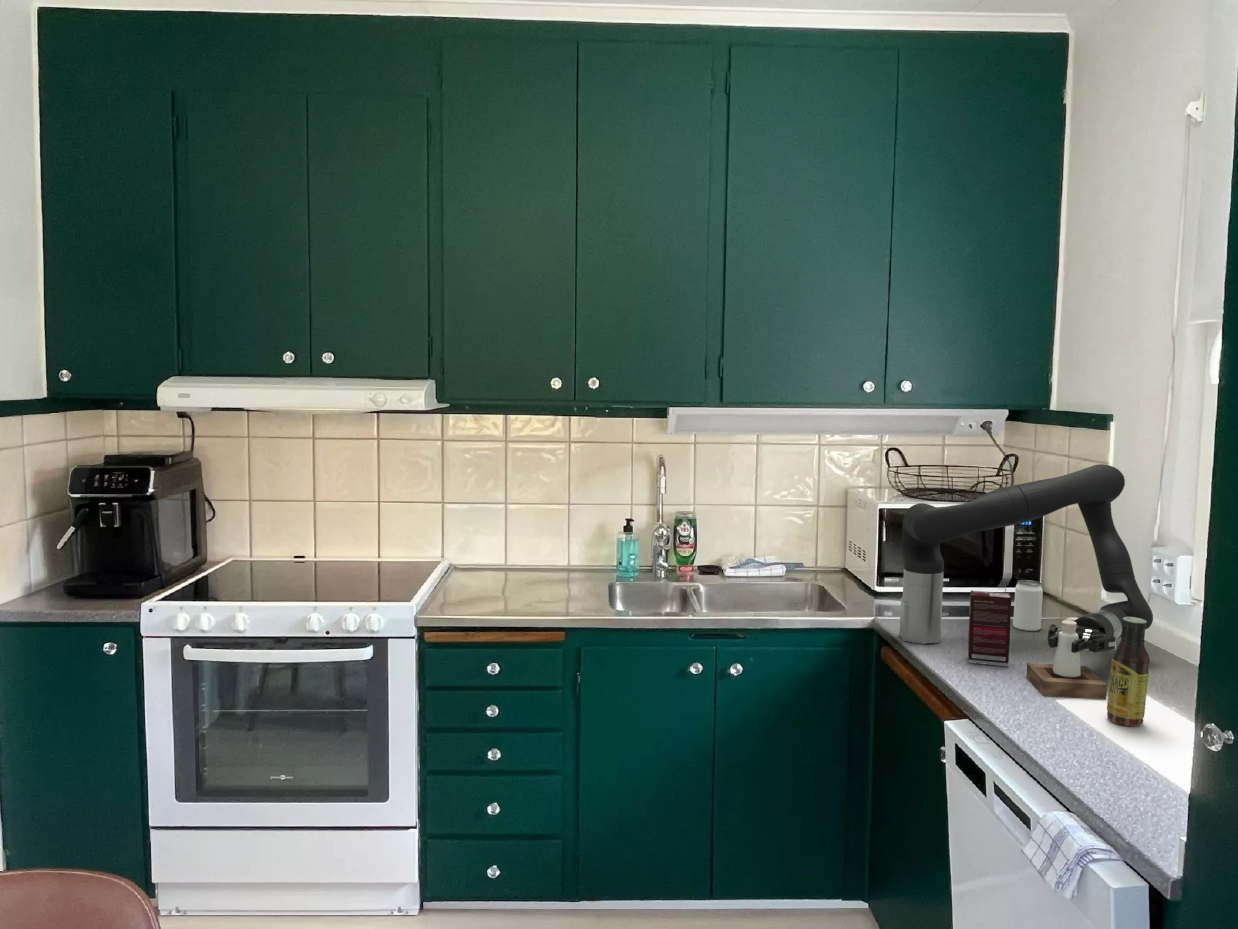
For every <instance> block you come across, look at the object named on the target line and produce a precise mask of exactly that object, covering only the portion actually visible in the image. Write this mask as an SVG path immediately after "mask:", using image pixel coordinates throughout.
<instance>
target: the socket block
mask: <svg viewBox="0 0 1238 929" xmlns="http://www.w3.org/2000/svg"><path fill="white" fill-rule="evenodd" d="M1053 665H1054V663H1051V664H1049V663H1035V662H1033V663H1032V662H1031V663H1030V662H1026V675H1025V677H1026V678H1027V679H1028V681H1030V682H1031V684H1032V685H1033V686H1034V687H1035V689H1036V690H1038V692H1039V693H1040V694H1041V695H1042V696H1044V697H1045V696H1047V697H1048V696H1049V697H1059V698H1060V697H1064V698H1079V699H1093V700H1096V699H1097V700H1107V691H1108V685H1107V683H1105V681H1103V680H1102V679H1101V678H1100V677H1099V676H1098V675H1097V674H1095V673H1094V671H1092V670H1091V669H1090V668H1089V667H1087V665H1084V666H1083V665H1080V672H1081V675H1080V676H1077V677H1064V676H1060V675H1057V674H1055V673H1054V671H1053Z"/></svg>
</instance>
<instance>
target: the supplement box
mask: <svg viewBox="0 0 1238 929" xmlns="http://www.w3.org/2000/svg"><path fill="white" fill-rule="evenodd" d="M969 597H970V598H969V614H968V615H969V618H968V643H967V644H968V645H967V659H968V662H969V661H971V662H975V663H974V664H976V663H986V664H992V665H991V666H996V665H997V667H1005V668H1006V667H1009V663H1010V643H1011V639H1010V638H1011V619H1012V618H1011V615H1012V596H1011V593H1009V592H997V591H986V590H985V591H983V590H972V589H971V590H970V595H969ZM986 664H985V665H986Z"/></svg>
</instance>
